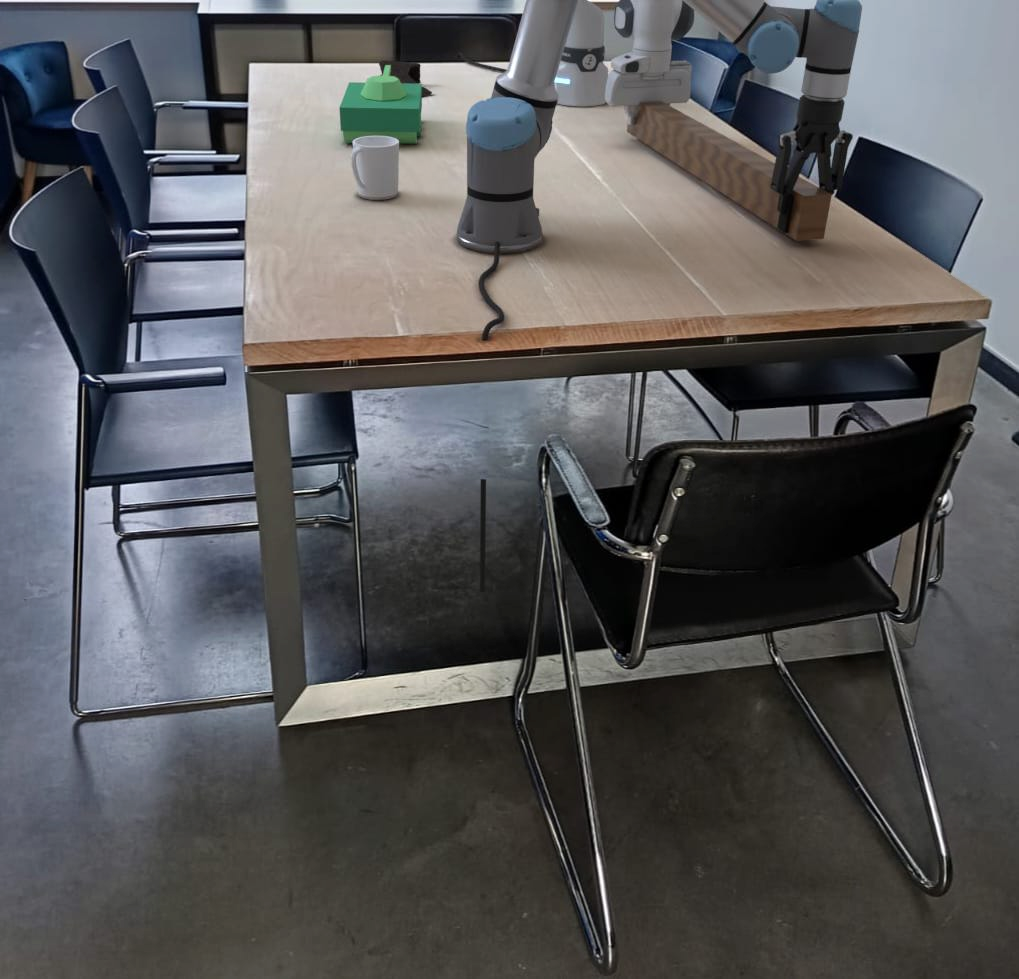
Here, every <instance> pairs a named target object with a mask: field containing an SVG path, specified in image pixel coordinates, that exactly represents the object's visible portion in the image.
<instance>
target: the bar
mask: <svg viewBox="0 0 1019 979" xmlns="http://www.w3.org/2000/svg"><path fill="white" fill-rule="evenodd" d="M631 112H632V115H633V116H635V117H637V119H636V125H629V124H628V123H626V124H627V126H626V133H628V134H629V135H631V136H633V137H634V138H636V139H637V140H639V141H640V142H642V143H644V144H645V145H646V146H648V147H650V148H651V149H653V150H655V151H656V152H657V153H659V154H661V155H663V156H664V157H665V158H667V159H668V160H670V161H672V162H673V163H675V164H676V165H678V166H679V167H681V168H682V169H684V170H686V171H687V172H689V173H690V174H692V175H693V176H694V177H696V178H698V179H699V180H701V181H703V182H704V183H706V184H707V185H709V186H710V187H712V188H714V189H715V190H716V191H718V192H720V193H721V194H723V195H724V196H726V197H727V198H729V199H731V200H732V201H734V202H735V203H737V204H738V205H740V206H742V207H743V208H745V209H746V210H747V211H749V212H751V213H753V214H754V215H755V216H757V217H758V218H760V219H761V220H763V221H765V222H767V224H769V225H771V226H772V227H773V228H775V229H776V230H779V229H778V228H777V225H778V220H779V214H780V213H779V212H778V211H777V205H778V199H779V193H777V192H775V191H774V190H772V189H771V188H770V185H771V180H772V175H773V171H774V166H775V162H773V161H771V160H770V159H768V158H766V157H764V156H762V155H761V154H759V153H757V152H755V151H753V150H751V149H749V148H747V147H746V146H744V145H743V144H741V143H738V142H737V141H735V140H733V139H731V138H729V137H727V136H726V135H724V134H722V133H720V132H719V131H716V130H715V129H713V128H711V127H709V126H707V125H706V124H704V123H702V122H700V121H698V120H696V119H695V118H693V117H691V116H689V115H687V114H686V113H683V112H682V111H680V110H678V109H676V108H675V107H674V106H671V105H670V106H669V105H667V104H665V103H663V102H640V104H639V105H633V110H631ZM791 195H792V196H794V203H793V208H792V214H791V219H790V225H789V230H788V233H784V232H782V231H781V230H779V231H780V232H782V233H783V234H785V235H786V236H788V237H789V238H791V239H793V240H794V241H796V242H797V241H798V242H799V241H812V240H824V238H825V233H826V228H827V223H828V217H829V211H830V206H831V202H832V201H831V200H832V196H833V195H832V194H830V193H828V192H826V191H825V190H823V189H821V188H819V186H817V185H815V184H813V183H812V182H810V181H808V180H806V179H804V178H803V177H800V176H799V177H798V179H797V181H796V184H795V186H794V188H793V191H792V193H791Z"/></svg>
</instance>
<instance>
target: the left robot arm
mask: <svg viewBox="0 0 1019 979" xmlns="http://www.w3.org/2000/svg"><path fill="white" fill-rule="evenodd" d="M683 1H684V2H685V3H686V4H688V5H689V6H690V7H691V8H692V9H694V12H696V14H698V15H699V16H700V17H701V18H703V19H704V20H705V21H706V22H707V23H708V24H710V25H711V26H712V27H713V28H715V29H716V30H717V31H718V32H719V33H721V34H722V35H723V36H724V37H725V38H726V39H727V40H729V41H730V42H731V43H732V44H733V45H734V46H735V47H736V51H737V52H738V53H740V54H741V53H742V54H744V55H745V56H747V57H748V59H749V62H750V63H751V64H752V66H753V67H755V68H756V69H757V70H758V71H760V72H762V73H765V74H778V73H781V72H783V71H785V70H786V69H788V68H789V67H790V66H791V65H792V63H794V61H795V59H796V58H799V59H802V58H803V59H804V58H805V66H804V72H803V79H802V84H801V90H800V91H801V93H802V94H801V96H799V100H798V105H797V111H796V123H795V125H794V127H793V129H792V130H791V131H789V132H787V133H783V132H779V133H778V134H777V143H778V147H777V148H778V149H777V152H776V157H775V160H774V161H775V162H774V163H775V166H774V171H773V175H772V180H771V185H770V188H771V189H772V190H774V191H775V192H777V193H779V199H778V205H777V211H778V212H779V213H780V214H779V220H778V225H777V228H778V229H777V228H776V229H777V230H778V231H780V230H781V231H780V232H781V233H783V232H784V233H783V234H785V233H788V230H789V225H790V219H791V214H792V208H793V203H794V196H792V195H791V193H792V191H793V188H794V186H795V184H796V181H797V179H798V177H800V174H801V172H802V170H803V168H804V165H805V163H806V161H807V160H809V158H810V156H811V154H814V153H815V155H816V160H817V161H816V162H817V175H818V176H817V177H818V187H819V188H821V189H823V190H825V191H826V192H828V193H830V194H832V196H833V195H834V194H835V191H840V190H842V187H843V183H844V182H843V181H844V174H845V169H846V163H847V156H848V150H849V147H850V145H851V142H852V140H853V138H854V136H853V134H852V133H851V132H848V131H846V130H843V129H842V130H841V128H840V122H841V121H842V118H843V114H844V108H845V104H846V102H845V100H844V99H845V97H846V96H847V94H848V90H849V89H848V88H849V84H850V83H849V82H850V77H851V71H852V66H853V61H854V57H855V52H856V47H857V43H858V38H859V33H860V25H861V18H862V11H863V5H862V4H861V2H860V0H816V2H815V3H816V4H815V5H814V6H813V8H795V7H785V6H784V7H783V6H771V5H770V4H768V3H767V2H766V1H765V0H683ZM524 3H525V4H524V7H523V11H522V15H521V19H520V21H519V26H518V30H517V33H516V37H515V40H514V44H513V48H512V51H511V55H510V59H509V62H508V66H507V69H506V70H507V71H505V72H501V73H500V74H498V75H497V76H496V77H495V78H496V79H495V81H494V85H493V89H492V93H491V97H490V98H486V100H480V101H477V102H475V103H474V104H473V105H472V106H471V107H470V108H469V109H468V111H467V119H466V123H465V130H466V131H465V133H466V192H467V193H466V198H465V202H464V205H463V209H462V211H461V214H460V218H459V220H458V224H457V228H456V241H457V243H458V244H459V245H461V246H462V247H464V248H466V249H468V250H470V251H475V252H479V253H486V254H493V262H492V264H491V266H490V267H489V268H488V269H486V270H485V271H484V272H483V273H481V274H480V277H479V279H478V289H479V292H480V294H481V296H482V298H483V300H484V301H485V303H486V304H487V305H488V306H489V307H490V308H491V309H492V310H494V312H496V314H497V318H495V319H492V320H491V321H489V322H487V324H486V325H485V326H484V328H483V331H482V335H481V341H482V342H487V341H488V338H489V335H490V331H491V330H492V328H494V327H495V326H497V325H500V324H503V322H504V320H505V314H504V311H503V309H502V308H501V307H500V306H499V305H498V304H497V303H495V301H494V300H493V299H492V298H491V297H490V295H489V293H488V292H487V290H486V287H485V280H486V279H487V278H488V277H489V276H490V275H491V274H493V273H494V272H495V271H496V269H497V268H498V266H499V263H500V255H506V254H507V255H508V254H517V253H524V252H527V251H530V250H533V249H536V248H538V247H539V246H540V245H541V244H542V243H543V229H542V224H541V221H540V220H541V219H540V218H539V217H540V208H538V207H537V206H536V204H535V199H534V184H535V181H534V180H535V159H536V158H537V156H538V155H539V153H540V152H541V151H542V150H543V149H544V147H545V146H546V144H547V143H548V141H549V139H550V138H551V134H552V131H553V123H554V122H553V118H554V115H555V111H556V109H557V105H558V104H557V101H558V97H559V95H558V93H557V91H556V89H555V87H554V81H555V78H556V75H557V71H558V68H559V65H560V61H561V58H562V54H563V51H564V48H565V44H566V41H567V37H568V34H569V31H570V27H571V24H572V21H573V17H574V14H575V10H576V7H577V4H578V0H525V2H524ZM843 98H844V99H843ZM794 141H795V142H796V144H795V145H794ZM834 141H835V143H834ZM833 143H834V145H833V146H834V147H833V152H832V144H833ZM792 146H794V147H793V151H792ZM791 154H793V155H792V157H791ZM831 157H832V159H831ZM479 503H480V505H479V506H480V509H479V510H480V512H479V514H480V516H479V517H480V519H479V520H480V521H479V522H480V524H479V525H480V528H479V532H480V533H479V592H480V593H486V540H487V539H486V536H487V533H486V531H487V530H486V529H487V528H486V526H487V525H486V524H487V522H486V521H487V519H486V518H487V479H485V478H480V502H479Z"/></svg>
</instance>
